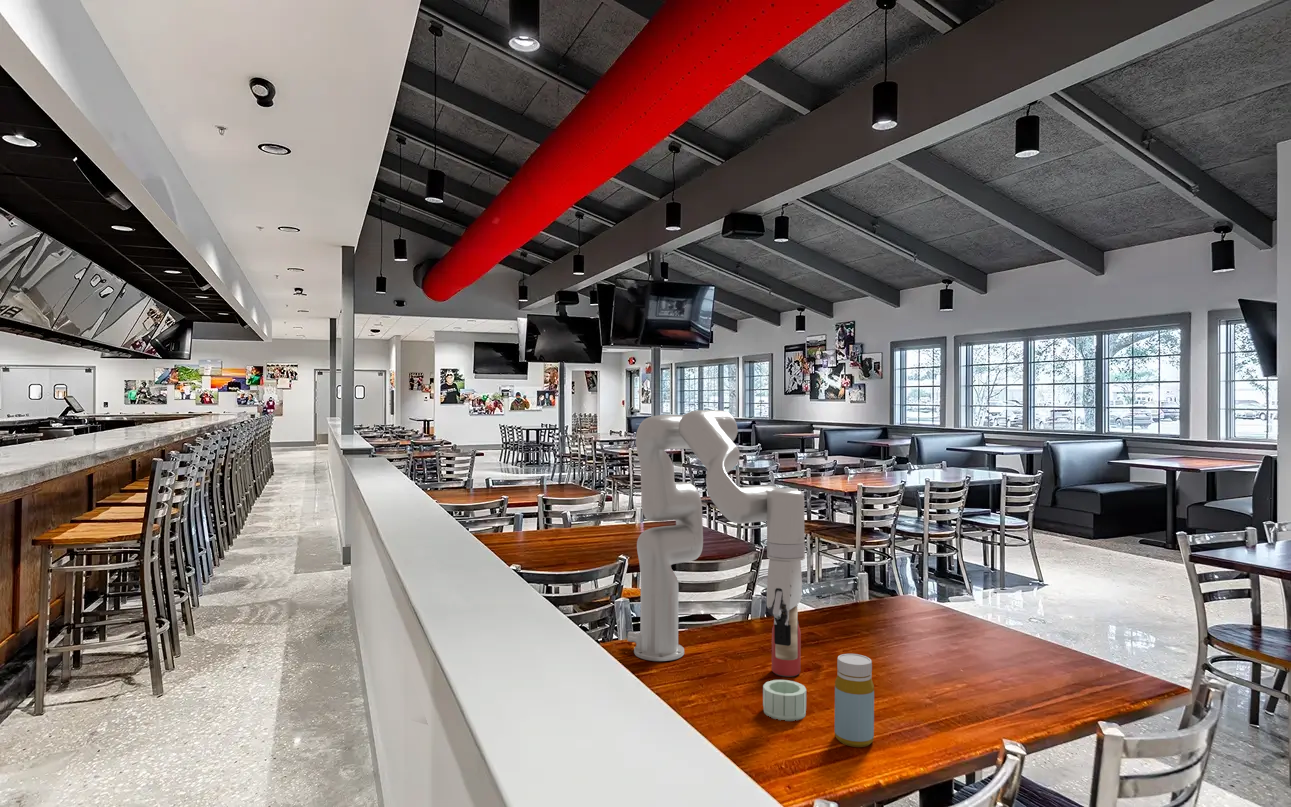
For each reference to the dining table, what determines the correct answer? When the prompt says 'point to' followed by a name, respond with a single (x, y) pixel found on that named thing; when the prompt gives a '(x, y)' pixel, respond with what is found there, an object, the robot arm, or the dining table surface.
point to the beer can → (786, 666)
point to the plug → (792, 650)
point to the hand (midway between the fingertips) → (786, 640)
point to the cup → (784, 700)
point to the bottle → (854, 701)
